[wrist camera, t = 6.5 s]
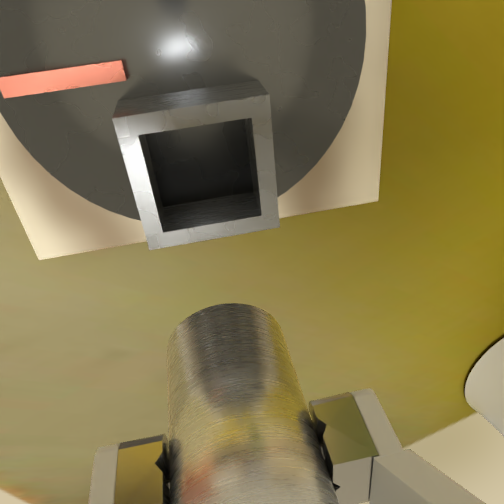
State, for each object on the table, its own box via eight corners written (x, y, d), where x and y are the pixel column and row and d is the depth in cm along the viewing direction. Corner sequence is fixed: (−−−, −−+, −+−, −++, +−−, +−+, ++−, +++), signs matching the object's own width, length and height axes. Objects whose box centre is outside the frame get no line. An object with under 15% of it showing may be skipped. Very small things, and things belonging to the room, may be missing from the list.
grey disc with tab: (338, -196, 18) (427, -271, 12) (335, 168, 27) (386, 230, 21) (-70, -154, 17) (-204, -215, 11) (70, 212, 26) (42, 292, 20)
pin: (279, 292, 12) (423, 689, 6) (286, 375, 14) (400, 744, 7) (154, 317, 12) (149, 767, 5) (179, 398, 14) (199, 802, 7)
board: (399, -297, 18) (415, -314, 17) (371, 192, 30) (379, 202, 29) (-181, -248, 16) (-207, -263, 15) (43, 249, 29) (38, 261, 28)
